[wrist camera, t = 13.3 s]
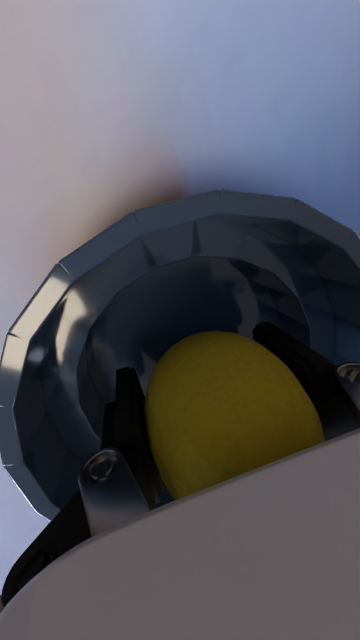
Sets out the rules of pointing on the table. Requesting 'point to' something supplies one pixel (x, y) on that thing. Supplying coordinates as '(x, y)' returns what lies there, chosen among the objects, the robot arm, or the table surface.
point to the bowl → (163, 317)
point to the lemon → (223, 411)
